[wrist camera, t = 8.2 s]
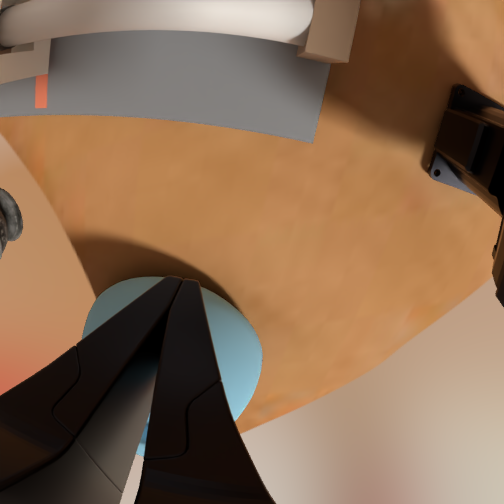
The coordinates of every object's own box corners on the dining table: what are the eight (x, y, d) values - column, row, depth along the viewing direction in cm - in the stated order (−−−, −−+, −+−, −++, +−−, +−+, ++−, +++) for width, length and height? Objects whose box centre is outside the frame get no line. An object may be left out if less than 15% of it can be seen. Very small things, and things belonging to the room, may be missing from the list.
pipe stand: (348, -46, 11) (380, -88, 6) (310, 138, 17) (326, 174, 12) (21, -33, 10) (-39, -39, 5) (5, 113, 17) (-55, 139, 11)
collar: (61, -22, 10) (-24, -35, 4) (48, 73, 14) (-41, 96, 8) (37, -16, 10) (-47, -21, 4) (25, 76, 14) (-60, 101, 8)
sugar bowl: (298, 313, 25) (303, 452, 15) (220, 396, 32) (205, 493, 23) (118, 229, 22) (33, 351, 12) (90, 341, 29) (47, 434, 20)
